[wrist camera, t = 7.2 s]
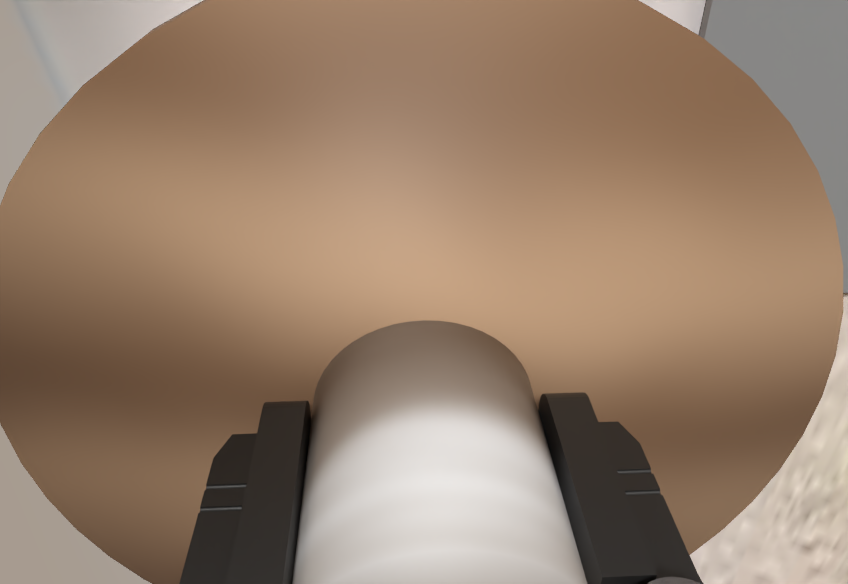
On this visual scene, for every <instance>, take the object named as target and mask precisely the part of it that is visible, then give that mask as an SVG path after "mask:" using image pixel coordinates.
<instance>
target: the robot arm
mask: <svg viewBox="0 0 848 584" xmlns="http://www.w3.org/2000/svg"><path fill="white" fill-rule="evenodd" d="M538 412H539V415H540V419H541V422H542V426H543V429H544V433H545V436H546V440H547V443H548V447H549V450H550V454H551V458H552V461H553V465H554V468H555V472H556V475H557V479H558V482H559V486H560V489H561V493H562V496H563V500H564V503H565V507H566V510H567V514H568V517H569V521H570V524H571V528H572V531H573V535H574V538H575V542H576V545H577V549H578V552H579V556H580V559H581V563H582V566H583V570H584V573H585V577H586V580H587V584H703V582H702V581H701V579H700V577H699V575H698V574H697V571H696V569H695V567H694V565H693V562H692V560H691V558H690V556H689V553H688V551H687V549H686V547H685V544H684V542H683V540H682V537H681V535H680V533H679V531H678V528H677V526H676V524H675V522H674V519H673V517H672V515H671V513H670V510H669V508H668V506H667V503H666V501H665V499H664V497H663V495H661V493H660V488H659V485H658V483H657V481H656V478H655V476H654V474H652V473H651V467H650V465H649V463H648V460H647V458H646V456H645V454H644V451H643V449H642V447H641V444H640V443H639V442H638V441H637V440H636V439H635V438H634V437H633V436H632V435H631V434H630V433H629V432H628V431H627V430H626V429H625V428H624V427H623V426H622V425H621V424H620V423H619V422H618V421H617V422H598V420H597V417H596V415H595V412H594V410H593V407H592V404H591V402H590V399H589V397H588V395H587V394H586V393H585V392H576V393H545V394H542V395H541V397H540V401H539V408H538ZM310 427H311V411H310V404H309V401H281V402H265V403H264V405H263V408H262V412H261V417H260V422H259V426H258V431H257V433H254V434H232V435H231V437H230V438H229V439H228V440H227V442H226V443H225V444H224V445H223V447H222V448H221V449H220V450H219V451H218V453H217V454H216V455H215V456H214V458H213V461H212V465H211V468H210V472H209V476H208V479H207V483H206V490H204V494H203V498H202V502H201V505H200V513H198V516H197V520H196V524H195V527H194V531H193V535H192V538H191V542H190V546H189V550H188V553H187V557H186V561H185V564H184V568H183V572H182V575H181V579H180V583H179V584H292V580H293V572H294V563H295V555H296V546H297V538H298V529H299V521H300V512H301V504H302V495H303V487H304V478H305V470H306V461H307V453H308V444H309V436H310Z"/></svg>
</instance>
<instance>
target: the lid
mask: <svg viewBox="0 0 848 584" xmlns="http://www.w3.org/2000/svg"><path fill="white" fill-rule="evenodd" d="M842 315H843V261H842V255H841V250H840V244H839V238H838V232H837V226H836V220H835V216H834V214H833V211H832V208H831V205H830V203H829V200H828V197H827V194H826V191H825V189H824V186H823V183H822V180H821V178H820V175H819V172H818V170H817V168H816V166H815V165H814V163H813V161H812V159H811V158H810V156H809V154H808V153H807V151H806V149H805V147H804V146H803V144H802V142H801V141H800V139H799V137H798V135H797V134H796V132H795V130H794V128H793V127H792V125H791V123H790V122H789V121H788V120H787V119H786V118H785V116H784V115H783V114H782V113H781V112H780V110H779V109H778V108H777V107H776V106H775V105H774V103H773V102H772V101H771V100H770V99H769V98H768V96H767V95H766V94H765V93H764V92H763V91H762V89H761V88H760V87H759V86H758V85H757V83H756V82H755V81H754V80H753V79H752V78H751V77H750V76H748V75H747V74H746V73H745V72H744V71H742V70H741V69H740V68H739V67H738V66H736V65H735V64H734V63H733V62H732V61H730V60H729V59H728V58H727V57H726V56H724V55H723V54H722V53H721V52H720V51H718V50H717V49H716V48H715V47H714V46H712V45H711V44H710V43H709V42H708V41H706V40H705V39H704V38H702V37H700V36H699V35H697V34H695V33H694V32H692V31H690V30H688V29H687V28H685V27H683V26H682V25H680V24H678V23H676V22H675V21H673V20H671V19H670V18H668V17H666V16H664V15H663V14H661V13H659V12H658V11H656V10H654V9H652V8H651V7H649V6H647V5H646V4H644V3H642V2H640V1H639V0H204V1H202V2H200V3H198V4H197V5H195V6H193V7H191V8H190V9H188V10H186V11H184V12H183V13H181V14H179V15H177V16H176V17H174V18H172V19H170V20H169V21H167V22H165V23H163V24H162V25H160V26H158V27H156V28H154V29H153V30H152V31H150V32H149V33H148V34H147V35H145V36H144V37H143V38H142V39H140V40H139V41H138V42H137V43H135V44H134V45H133V46H132V47H130V48H129V49H128V50H127V51H125V52H124V53H123V54H122V55H120V56H119V57H118V58H117V59H115V60H114V61H113V62H112V63H110V64H109V65H108V66H107V67H105V68H104V69H103V70H102V71H100V72H99V73H98V74H97V75H95V76H94V77H93V78H92V79H90V80H89V81H88V82H87V83H85V84H84V85H83V86H82V87H81V88H80V89H79V90H78V91H77V93H76V94H75V95H74V96H73V97H72V98H71V99H70V100H69V102H68V103H67V104H66V105H65V106H64V107H63V108H62V109H61V111H60V112H59V113H58V114H57V115H56V116H55V117H54V118H53V119H52V121H51V122H50V123H49V124H48V125H47V126H46V127H45V128H44V130H43V131H42V132H41V133H40V134H39V136H38V138H37V139H36V141H35V142H34V144H33V146H32V147H31V149H30V151H29V152H28V154H27V155H26V157H25V159H24V160H23V162H22V163H21V165H20V167H19V168H18V170H17V171H16V173H15V175H14V176H13V178H12V180H11V181H10V183H9V185H8V187H7V190H6V192H5V195H4V197H3V200H2V202H1V205H0V423H1V426H2V427H3V429H4V431H5V433H6V435H7V437H8V439H9V440H10V442H11V444H12V446H13V448H14V450H15V452H16V454H17V456H18V457H19V459H20V461H21V463H22V465H23V466H24V467H25V469H26V470H27V471H28V473H29V474H30V475H31V477H32V478H33V479H34V481H35V482H36V484H37V485H38V487H39V488H40V489H41V491H42V492H43V493H44V495H45V496H46V497H47V499H48V500H49V501H50V502H51V503H52V504H53V505H54V506H55V507H56V508H57V509H58V510H59V511H60V512H61V513H62V514H63V516H64V517H65V518H66V519H67V520H68V521H69V522H70V523H71V524H72V525H73V526H74V527H75V528H76V529H77V530H78V531H79V532H81V533H82V534H83V535H84V536H85V537H87V538H88V539H89V540H90V541H91V542H93V543H94V544H95V545H96V546H97V547H99V548H100V549H101V550H102V551H103V552H105V553H106V554H107V555H108V556H110V557H111V558H113V559H114V560H116V561H117V562H119V563H120V564H122V565H123V566H125V567H126V568H128V569H129V570H131V571H132V572H134V573H136V574H137V575H138V576H140V577H141V578H143V579H145V580H147V581H149V582H150V583H152V584H179V583H180V579H181V575H182V572H183V568H184V564H185V561H186V557H187V553H188V550H189V546H190V542H191V538H192V535H193V531H194V527H195V524H196V520H197V516H198V513H200V505H201V502H202V498H203V494H204V490H206V483H207V479H208V476H209V472H210V468H211V465H212V461H213V458H214V456H215V455H216V454H217V453H218V451H219V450H220V449H221V448H222V447H223V445H224V444H225V443H226V442H227V440H228V439H229V438H230V437H231V435H232V434H254V433H257V431H258V426H259V422H260V417H261V412H262V408H263V405H264V403H265V402H281V401H309V404H310V411H311V427H310V436H309V444H308V453H307V461H306V470H305V478H304V487H303V495H302V504H301V512H300V521H299V529H298V538H297V546H296V555H295V563H294V572H293V580H292V584H587V580H586V577H585V573H584V570H583V566H582V563H581V559H580V556H579V552H578V549H577V545H576V542H575V538H574V535H573V531H572V528H571V524H570V521H569V517H568V514H567V510H566V507H565V503H564V500H563V496H562V493H561V489H560V486H559V482H558V479H557V475H556V472H555V468H554V465H553V461H552V458H551V454H550V450H549V447H548V443H547V440H546V436H545V433H544V429H543V426H542V422H541V419H540V415H539V412H538V408H539V401H540V397H541V395H542V394H545V393H576V392H585V393H586V394H587V395H588V397H589V399H590V402H591V404H592V407H593V410H594V412H595V415H596V417H597V420H598V422H617V421H618V422H619V423H620V424H621V425H622V426H623V427H624V428H625V429H626V430H627V431H628V432H629V433H630V434H631V435H632V436H633V437H634V438H635V439H636V440H637V441H638V442H639V443H640V444H641V447H642V449H643V451H644V454H645V456H646V458H647V460H648V463H649V465H650V467H651V473H652V474H654V476H655V478H656V481H657V483H658V485H659V488H660V493H661V495H663V497H664V499H665V501H666V503H667V506H668V508H669V510H670V513H671V515H672V517H673V519H674V522H675V524H676V526H677V528H678V531H679V533H680V535H681V537H682V540H683V542H684V544H685V547H686V549H687V551H688V553H689V555H690V554H691V553H693V552H694V551H695V550H697V549H698V548H699V547H701V546H702V545H703V544H704V543H706V542H707V541H708V540H710V539H711V538H712V537H714V536H715V535H716V534H717V533H719V532H720V531H721V530H723V529H724V528H725V527H726V526H727V525H728V524H729V523H730V522H731V521H732V520H733V519H734V518H735V517H736V516H737V515H738V514H740V513H741V512H742V511H743V510H744V509H745V508H746V507H747V506H748V505H749V504H750V503H751V502H752V501H753V500H754V499H755V498H756V497H757V495H758V494H759V493H760V492H761V491H762V490H763V488H764V487H765V486H766V485H767V484H768V483H769V481H770V480H771V479H772V478H773V477H774V476H775V474H776V473H777V472H778V471H779V470H780V468H781V467H782V465H783V464H784V462H785V461H786V459H787V458H788V456H789V455H790V453H791V452H792V450H793V449H794V447H795V446H796V444H797V443H798V441H799V440H800V438H801V437H802V435H803V433H804V431H805V429H806V427H807V425H808V423H809V421H810V419H811V417H812V415H813V413H814V411H815V409H816V407H817V405H818V403H819V401H820V399H821V397H822V395H823V392H824V389H825V386H826V383H827V380H828V377H829V374H830V371H831V368H832V365H833V362H834V359H835V356H836V350H837V344H838V338H839V332H840V326H841V321H842Z"/></svg>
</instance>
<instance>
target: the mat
mask: <svg viewBox="0 0 848 584" xmlns="http://www.w3.org/2000/svg"><path fill="white" fill-rule="evenodd" d="M699 36H700V37H702V38H704V39H705V40H706V41H708V42H709V43H710V44H711V45H712V46H714V47H715V48H716V49H717V50H718V51H720V52H721V53H722V54H723V55H724V56H726V57H727V58H728V59H729V60H730V61H732V62H733V63H734V64H735V65H736V66H738V67H739V68H740V69H741V70H742V71H744V72H745V73H746V74H747V75H748V76H750V77H751V78H752V79H753V80H754V81H755V82H756V83H757V85H758V86H759V87H760V88H761V89H762V91H763V92H764V93H765V94H766V95H767V96H768V98H769V99H770V100H771V101H772V102H773V103H774V105H775V106H776V107H777V108H778V109H779V110H780V112H781V113H782V114H783V115H784V116H785V118H786V119H787V120H788V121H789V122H790V123H791V125H792V127H793V128H794V130H795V132H796V134H797V135H798V137H799V139H800V141H801V142H802V144H803V146H804V147H805V149H806V151H807V153H808V154H809V156H810V158H811V159H812V161H813V163H814V165H815V166H816V168H817V170H818V172H819V175H820V178H821V180H822V183H823V186H824V189H825V191H826V194H827V197H828V200H829V203H830V205H831V208H832V211H833V214H834V216H835V220H836V226H837V232H838V238H839V244H840V250H841V255H842V261H843V293H848V0H706V5H705V9H704V14H703V19H702V24H701V28H700V33H699Z"/></svg>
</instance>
